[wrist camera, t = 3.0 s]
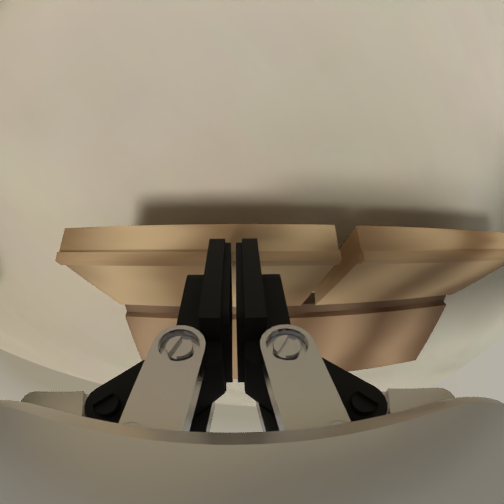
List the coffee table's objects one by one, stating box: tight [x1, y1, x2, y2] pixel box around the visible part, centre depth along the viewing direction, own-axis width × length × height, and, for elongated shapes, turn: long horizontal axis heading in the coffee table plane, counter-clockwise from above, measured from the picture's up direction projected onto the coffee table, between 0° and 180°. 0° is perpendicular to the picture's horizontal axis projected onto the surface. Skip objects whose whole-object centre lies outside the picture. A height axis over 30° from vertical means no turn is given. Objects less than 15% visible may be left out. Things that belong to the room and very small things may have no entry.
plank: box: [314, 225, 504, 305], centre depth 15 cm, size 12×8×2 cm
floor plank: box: [125, 293, 446, 379], centre depth 21 cm, size 25×8×2 cm, turn 89°
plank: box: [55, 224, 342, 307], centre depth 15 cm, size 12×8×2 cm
